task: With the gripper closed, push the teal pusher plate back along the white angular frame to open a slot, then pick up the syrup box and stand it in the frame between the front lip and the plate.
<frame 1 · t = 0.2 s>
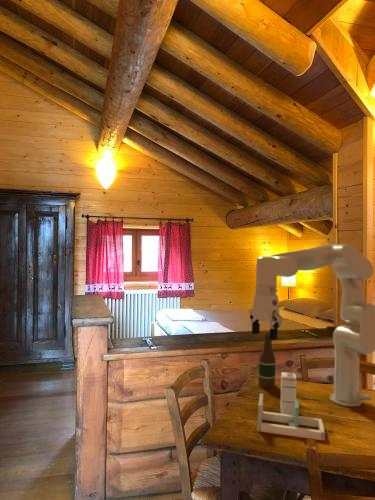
hand: (264, 336, 140), 31 cm above the table, tool pointing down, fingers open, 9 cm apart
beer bottle: (266, 385, 177), on the table
white angular frame: (289, 428, 134), on the table
pusher plate: (293, 416, 134), point 5 cm above the table, slide at 0.0 cm
syrup box: (287, 412, 148), on the table
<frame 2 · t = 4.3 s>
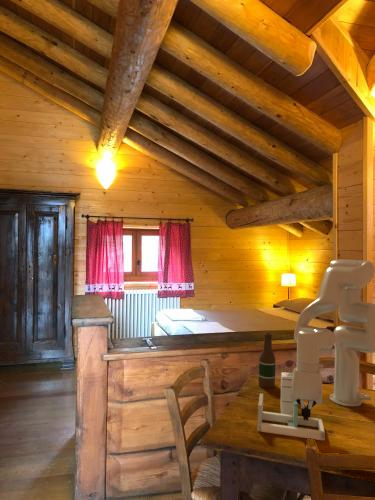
hand: (305, 418, 133), 4 cm above the table, tool pointing down, fingers closed
pusher plate: (292, 415, 134), point 5 cm above the table, slide at 0.3 cm, touching gripper
everything else where it was.
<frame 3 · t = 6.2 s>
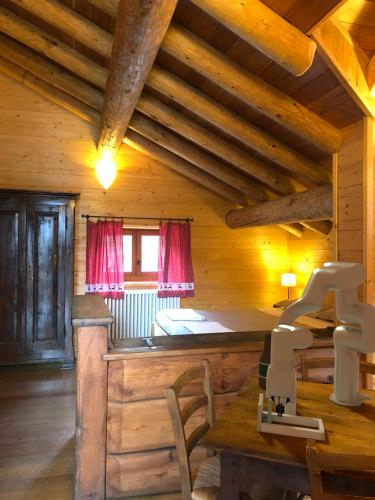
hand: (279, 415, 135), 4 cm above the table, tool pointing down, fingers closed
pusher plate: (267, 412, 136), point 5 cm above the table, slide at 9.1 cm, touching gripper
everything else where it was.
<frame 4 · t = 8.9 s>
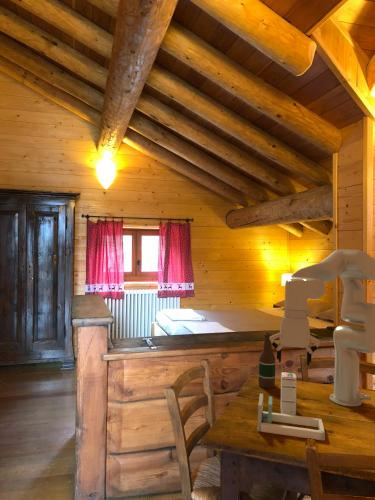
hand: (293, 362, 134), 23 cm above the table, tool pointing down, fingers open, 9 cm apart
pusher plate: (267, 412, 136), point 5 cm above the table, slide at 9.0 cm
everything else where it was.
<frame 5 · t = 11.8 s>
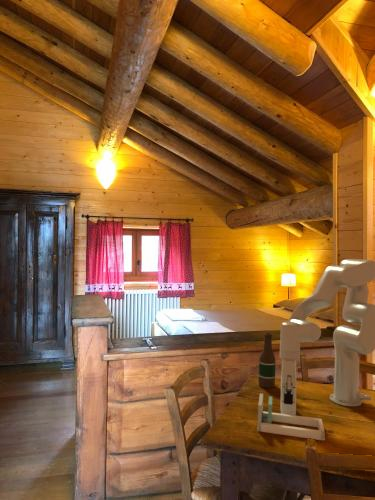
hand: (288, 400, 148), 5 cm above the table, tool pointing down, fingers closed on syrup box, 5 cm apart
syrup box: (287, 412, 148), on the table, touching gripper
everything else where it was.
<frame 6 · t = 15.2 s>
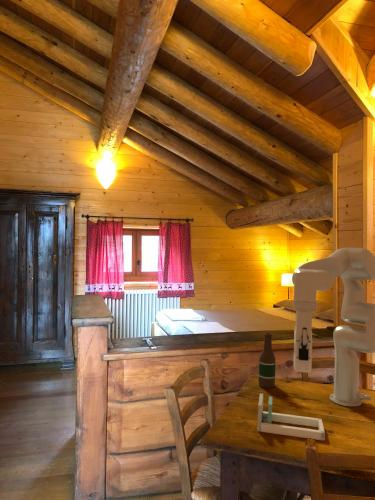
hand: (302, 356, 133), 26 cm above the table, tool pointing down, fingers closed on syrup box, 5 cm apart
syrup box: (302, 370, 134), point 21 cm above the table, touching gripper
everything else where it was.
when the fingers open (6 cm above the table, at t = 19.0 s): syrup box drops 2 cm, resting in white angular frame.
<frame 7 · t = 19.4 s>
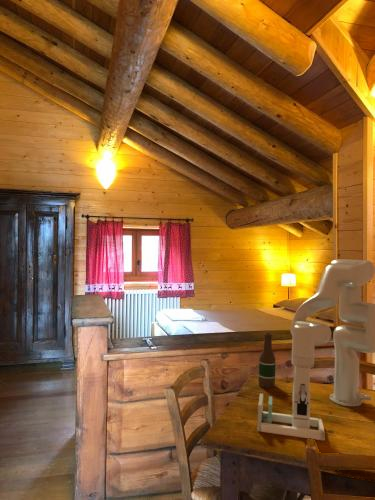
hand: (301, 409, 134), 7 cm above the table, tool pointing down, fingers open, 9 cm apart
syrup box: (300, 430, 134), resting in white angular frame
everything else where it was.
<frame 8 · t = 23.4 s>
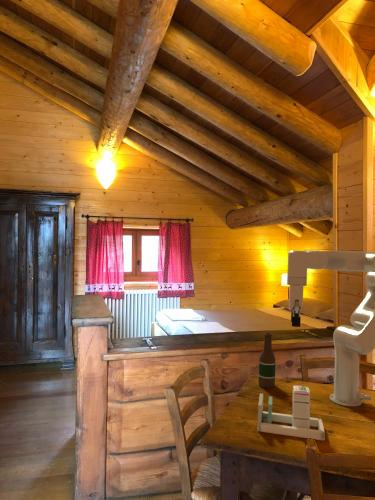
hand: (295, 324, 152), 33 cm above the table, tool pointing down, fingers open, 9 cm apart
nothing on the table moved.
at the end: syrup box inside the target area on the white angular frame (1.3 cm from its centre), point 0.0 cm above the white angular frame's base; syrup box tilted 0°; pusher plate slide at 9.0 cm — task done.
